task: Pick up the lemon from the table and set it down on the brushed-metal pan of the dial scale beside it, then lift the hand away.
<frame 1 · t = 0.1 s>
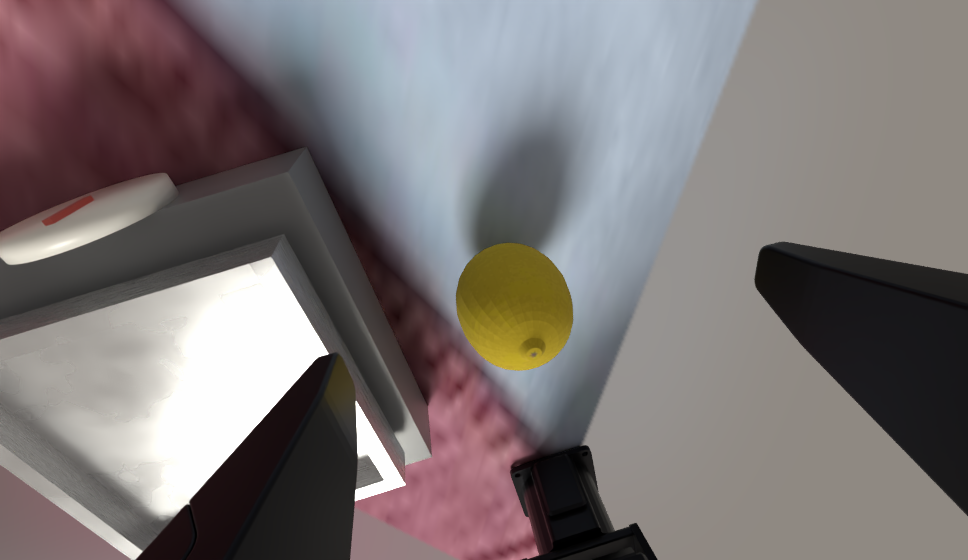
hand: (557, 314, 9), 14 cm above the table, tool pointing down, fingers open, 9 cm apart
lemon: (496, 263, 25), on the table
scale: (242, 343, 25), on the table
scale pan: (203, 423, 20), point 6 cm above the table, slide at 0.0 cm
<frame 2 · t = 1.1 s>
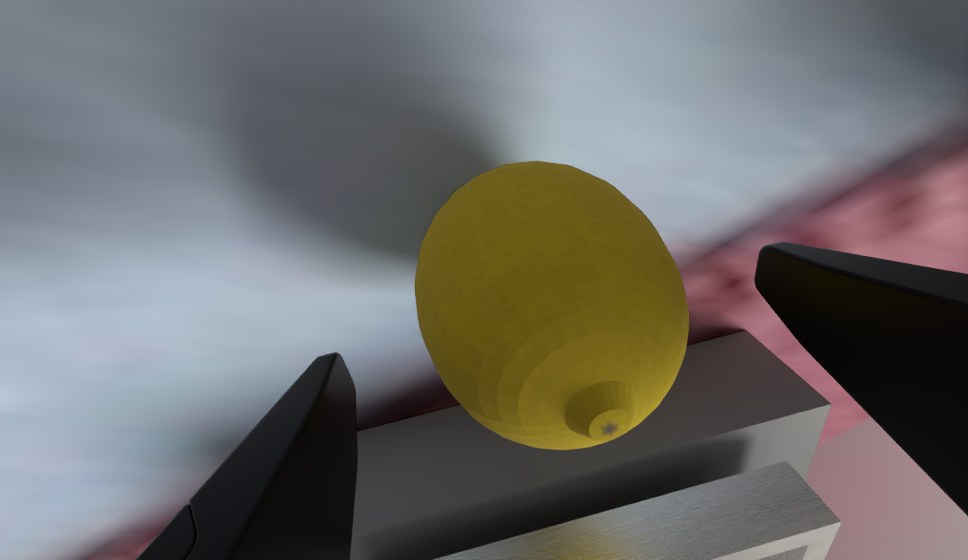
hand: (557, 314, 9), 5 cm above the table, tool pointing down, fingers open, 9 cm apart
lemon: (500, 221, 14), on the table
scale: (549, 504, 21), on the table
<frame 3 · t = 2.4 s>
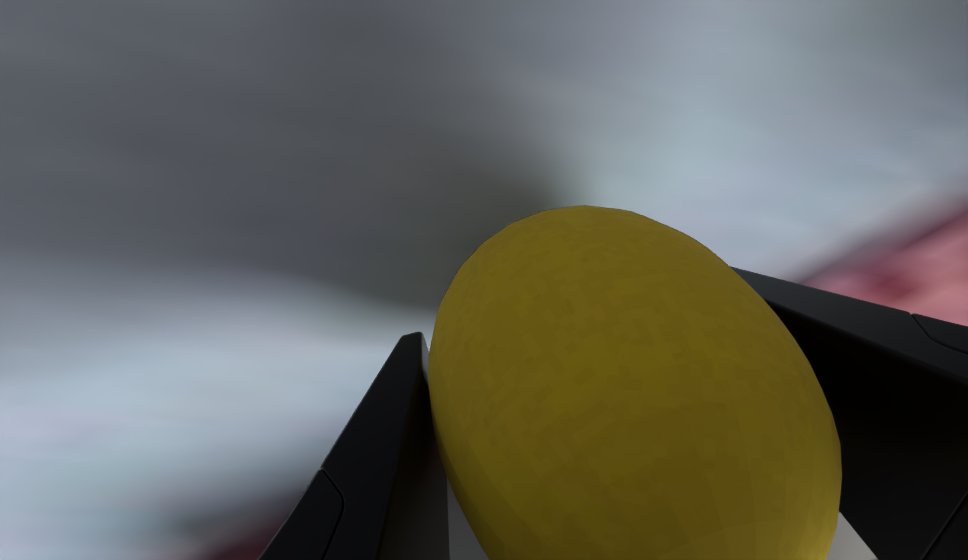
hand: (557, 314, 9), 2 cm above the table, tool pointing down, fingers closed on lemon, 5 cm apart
lemon: (529, 265, 11), on the table, touching gripper
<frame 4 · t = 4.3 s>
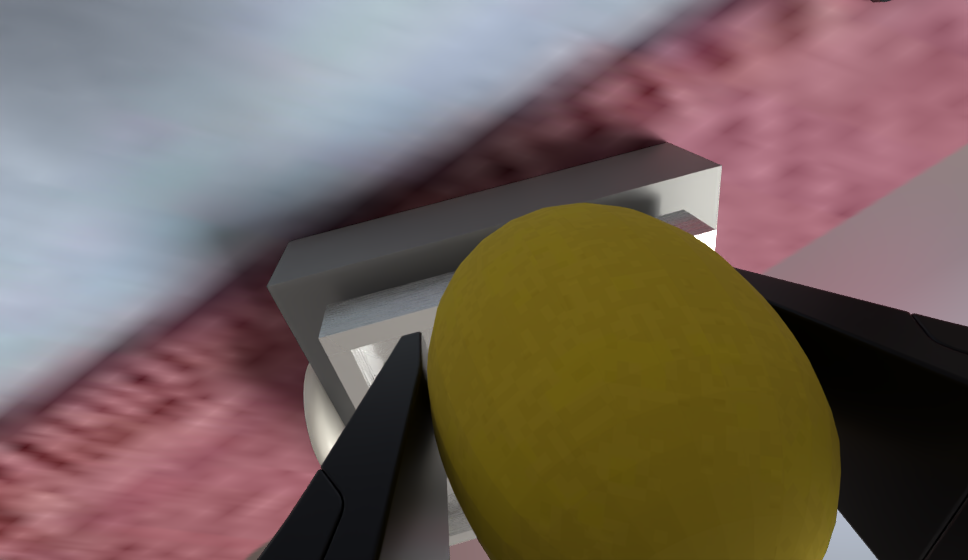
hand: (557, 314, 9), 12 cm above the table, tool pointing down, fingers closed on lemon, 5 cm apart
lemon: (528, 263, 11), point 10 cm above the table, touching gripper
scale: (511, 326, 24), on the table
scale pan: (540, 402, 19), point 6 cm above the table, slide at 0.0 cm
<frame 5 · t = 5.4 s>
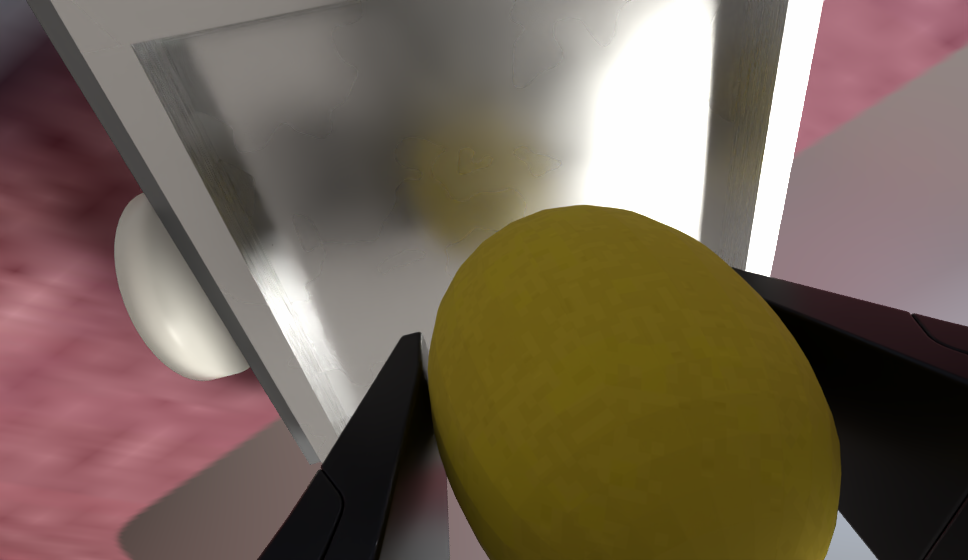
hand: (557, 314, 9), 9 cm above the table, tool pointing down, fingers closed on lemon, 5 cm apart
lemon: (529, 264, 11), point 7 cm above the table, touching gripper
scale: (480, 185, 17), on the table
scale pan: (516, 251, 12), point 6 cm above the table, slide at 0.0 cm
when the fingers open (9 cm above the table, at t = 6.2 s): lemon drops 2 cm, resting on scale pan.
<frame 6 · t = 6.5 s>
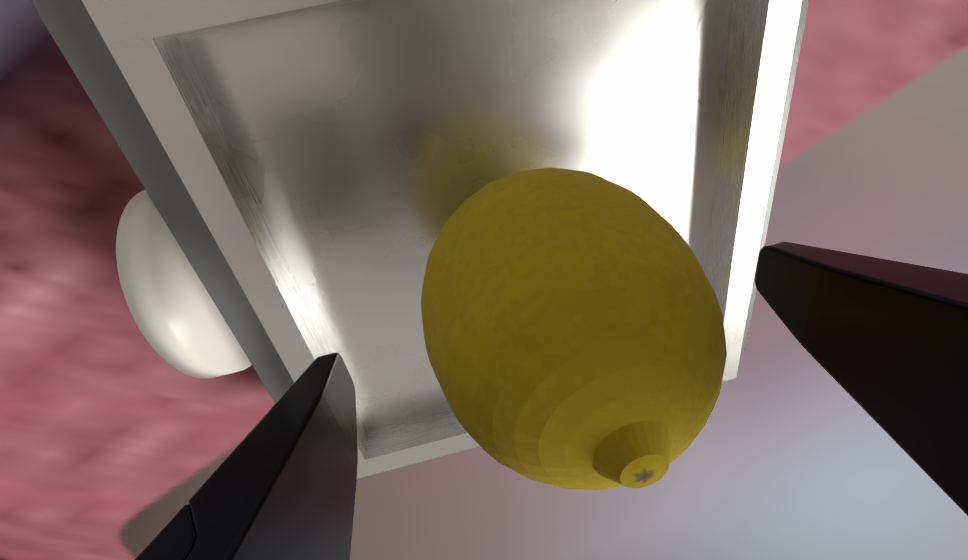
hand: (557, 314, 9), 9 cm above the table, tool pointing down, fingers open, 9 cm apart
lemon: (510, 229, 13), point 5 cm above the table, touching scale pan
scale: (483, 183, 17), on the table
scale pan: (513, 237, 12), point 5 cm above the table, slide at -0.7 cm, touching lemon
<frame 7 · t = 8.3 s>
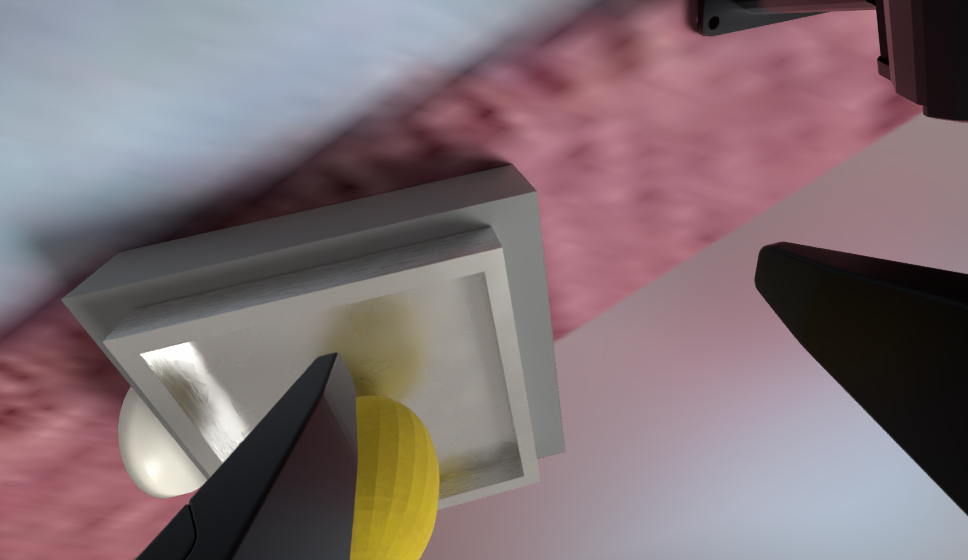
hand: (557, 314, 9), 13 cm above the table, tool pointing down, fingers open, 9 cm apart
lemon: (370, 401, 20), point 5 cm above the table, touching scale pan
scale: (374, 341, 24), on the table
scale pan: (370, 409, 20), point 5 cm above the table, slide at -0.7 cm, touching lemon
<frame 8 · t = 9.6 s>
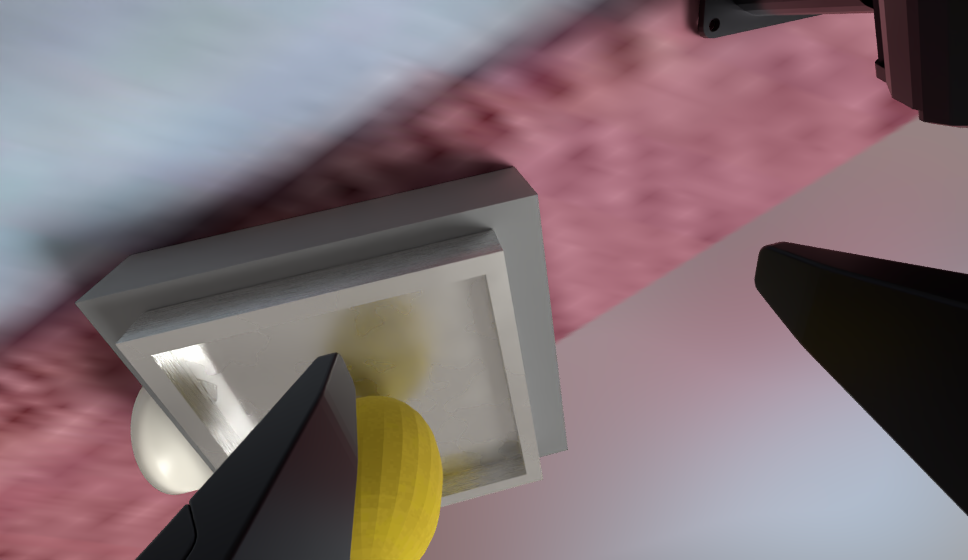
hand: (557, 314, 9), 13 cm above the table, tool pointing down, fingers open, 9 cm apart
lemon: (375, 401, 20), point 5 cm above the table, touching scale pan
scale: (378, 341, 24), on the table
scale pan: (374, 409, 20), point 5 cm above the table, slide at -0.7 cm, touching lemon
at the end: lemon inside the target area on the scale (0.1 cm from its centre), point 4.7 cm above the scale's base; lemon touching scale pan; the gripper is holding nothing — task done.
